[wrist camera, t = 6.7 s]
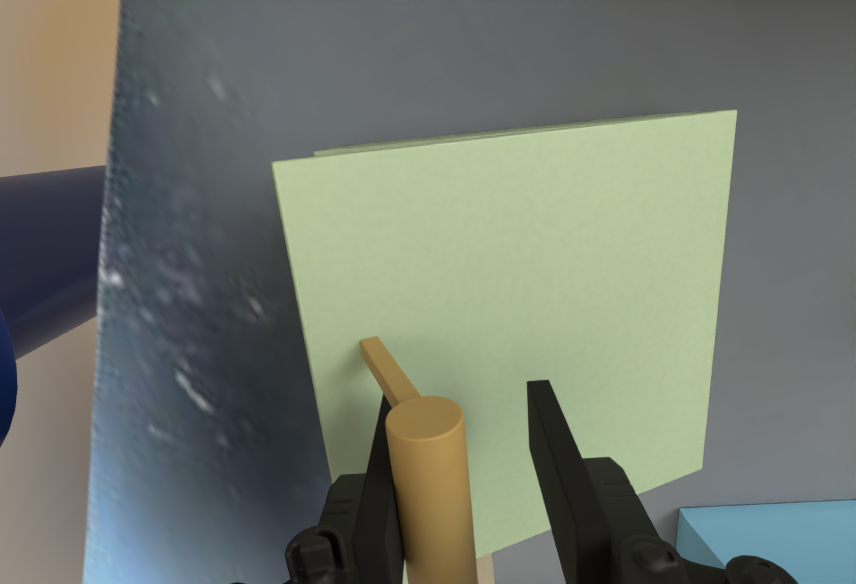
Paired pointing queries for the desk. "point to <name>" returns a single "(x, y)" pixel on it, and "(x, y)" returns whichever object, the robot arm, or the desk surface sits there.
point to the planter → (775, 537)
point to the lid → (510, 313)
